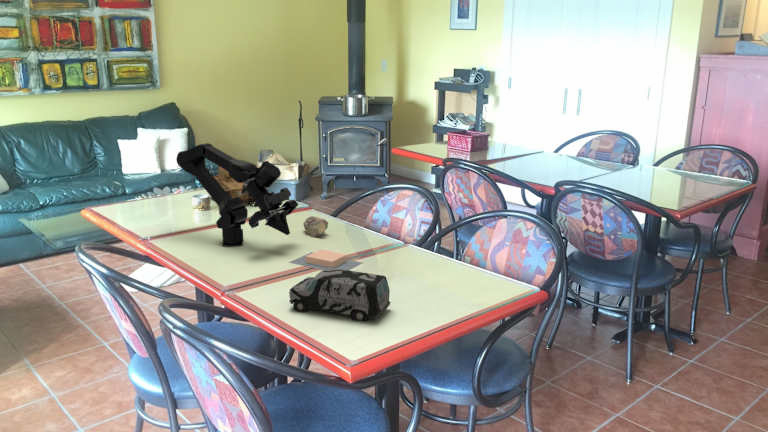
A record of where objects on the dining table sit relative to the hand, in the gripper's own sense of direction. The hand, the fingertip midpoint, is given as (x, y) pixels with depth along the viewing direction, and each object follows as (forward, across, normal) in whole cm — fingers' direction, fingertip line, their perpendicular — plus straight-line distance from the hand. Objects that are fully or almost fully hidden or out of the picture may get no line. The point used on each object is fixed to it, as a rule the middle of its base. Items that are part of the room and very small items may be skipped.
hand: (288, 234), depth 204 cm
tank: (-41, +42, +55) cm, 80 cm away
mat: (+15, 0, -6) cm, 16 cm away
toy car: (+32, -26, -24) cm, 48 cm away
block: (+11, 0, -3) cm, 11 cm away
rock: (0, +23, +11) cm, 26 cm away
